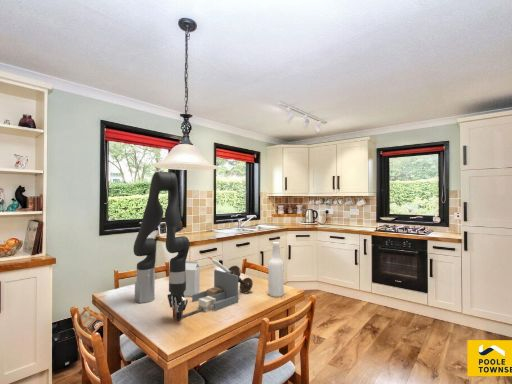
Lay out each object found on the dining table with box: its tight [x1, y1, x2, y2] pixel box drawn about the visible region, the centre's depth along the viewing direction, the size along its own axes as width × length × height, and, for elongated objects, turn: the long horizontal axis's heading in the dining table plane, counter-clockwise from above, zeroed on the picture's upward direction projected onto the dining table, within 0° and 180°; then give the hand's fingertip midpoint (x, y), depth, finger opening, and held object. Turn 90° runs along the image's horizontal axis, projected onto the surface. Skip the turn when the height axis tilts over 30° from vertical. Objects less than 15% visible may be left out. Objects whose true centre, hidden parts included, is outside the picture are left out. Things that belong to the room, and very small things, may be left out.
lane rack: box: [191, 269, 239, 312], centre depth 149 cm, size 16×19×14 cm
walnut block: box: [206, 286, 222, 296], centre depth 155 cm, size 6×6×5 cm
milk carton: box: [184, 260, 201, 297], centre depth 161 cm, size 7×7×19 cm
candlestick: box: [207, 256, 254, 294], centre depth 156 cm, size 11×11×35 cm
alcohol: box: [267, 241, 285, 298], centre depth 161 cm, size 9×9×30 cm
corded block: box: [173, 296, 216, 322], centre depth 134 cm, size 21×6×6 cm, turn 138°
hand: (177, 318), depth 127 cm, fingers closed on corded block, 2 cm apart
